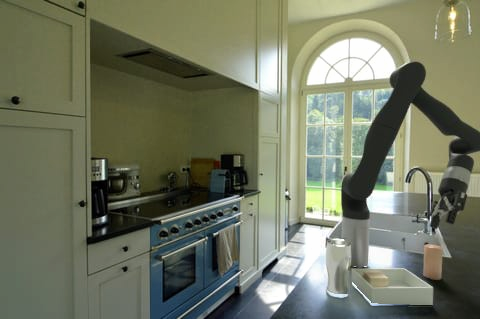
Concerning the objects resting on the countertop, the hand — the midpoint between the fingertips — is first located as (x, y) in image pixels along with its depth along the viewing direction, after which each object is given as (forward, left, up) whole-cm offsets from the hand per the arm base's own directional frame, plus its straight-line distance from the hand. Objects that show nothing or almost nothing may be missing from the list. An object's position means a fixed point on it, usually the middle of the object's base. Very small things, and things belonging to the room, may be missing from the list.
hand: (440, 225), depth 94 cm
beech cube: (-21, -16, -17) cm, 31 cm away
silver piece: (-31, -19, -18) cm, 41 cm away
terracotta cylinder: (-1, +4, -18) cm, 19 cm away
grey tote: (-17, -15, -18) cm, 29 cm away
